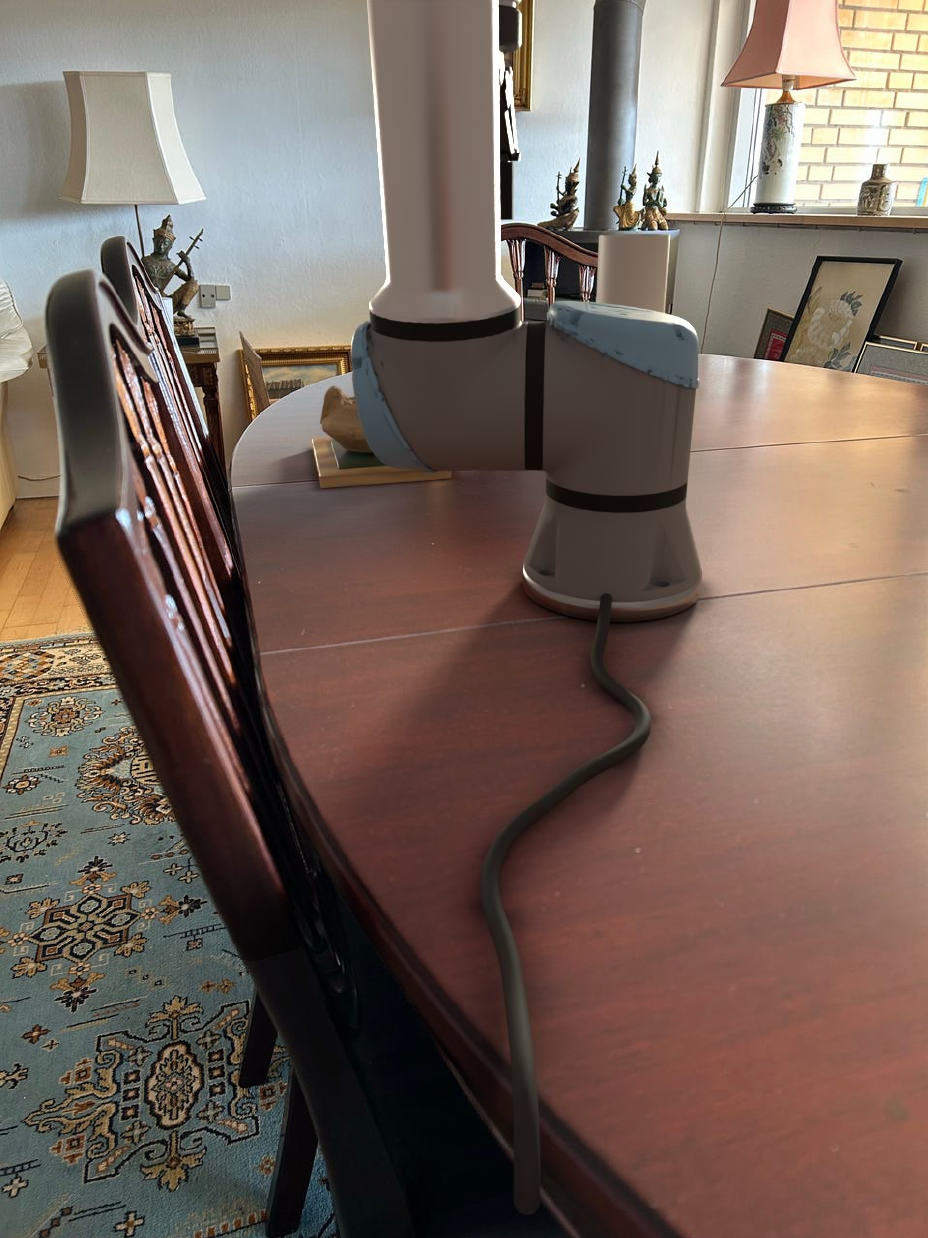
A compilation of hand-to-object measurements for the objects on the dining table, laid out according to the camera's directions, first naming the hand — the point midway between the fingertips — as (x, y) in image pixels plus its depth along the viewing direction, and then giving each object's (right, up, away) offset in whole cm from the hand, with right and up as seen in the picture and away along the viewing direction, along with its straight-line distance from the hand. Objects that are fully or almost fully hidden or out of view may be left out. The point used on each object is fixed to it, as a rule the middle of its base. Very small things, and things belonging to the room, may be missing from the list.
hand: (488, 220), depth 106 cm
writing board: (-14, -27, +11) cm, 32 cm away
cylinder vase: (+28, -2, +63) cm, 69 cm away
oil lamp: (-14, -25, +11) cm, 31 cm away
